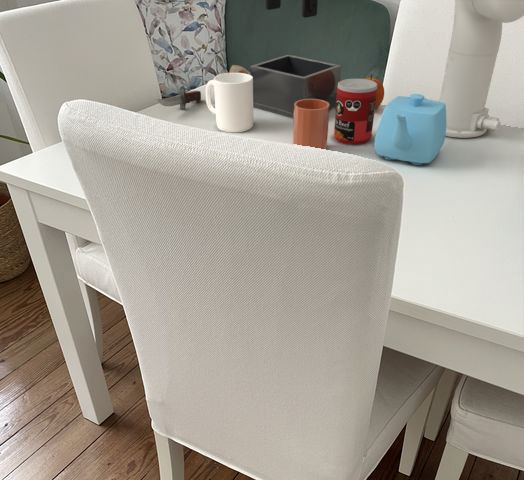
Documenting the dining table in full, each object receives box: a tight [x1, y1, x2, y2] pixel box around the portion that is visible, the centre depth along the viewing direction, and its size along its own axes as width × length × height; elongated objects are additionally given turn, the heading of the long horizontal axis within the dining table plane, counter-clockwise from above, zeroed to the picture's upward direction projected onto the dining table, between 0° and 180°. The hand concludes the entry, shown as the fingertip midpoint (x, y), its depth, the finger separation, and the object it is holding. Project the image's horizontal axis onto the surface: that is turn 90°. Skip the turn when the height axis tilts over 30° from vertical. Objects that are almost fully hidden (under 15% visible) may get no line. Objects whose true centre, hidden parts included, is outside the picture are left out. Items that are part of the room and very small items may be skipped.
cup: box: [205, 72, 255, 133], centre depth 125 cm, size 8×12×10 cm
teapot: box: [373, 93, 447, 166], centre depth 109 cm, size 12×18×12 cm
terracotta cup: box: [292, 99, 330, 150], centre depth 113 cm, size 7×7×9 cm
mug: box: [228, 64, 250, 75], centre depth 143 cm, size 8×10×10 cm
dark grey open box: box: [249, 54, 342, 119], centre depth 135 cm, size 16×14×9 cm
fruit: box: [364, 73, 385, 110], centre depth 133 cm, size 7×7×8 cm
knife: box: [156, 87, 202, 110], centre depth 134 cm, size 17×1×5 cm, turn 152°
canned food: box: [333, 78, 377, 146], centre depth 117 cm, size 8×8×11 cm
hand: (290, 12), depth 104 cm, fingers open, 9 cm apart
